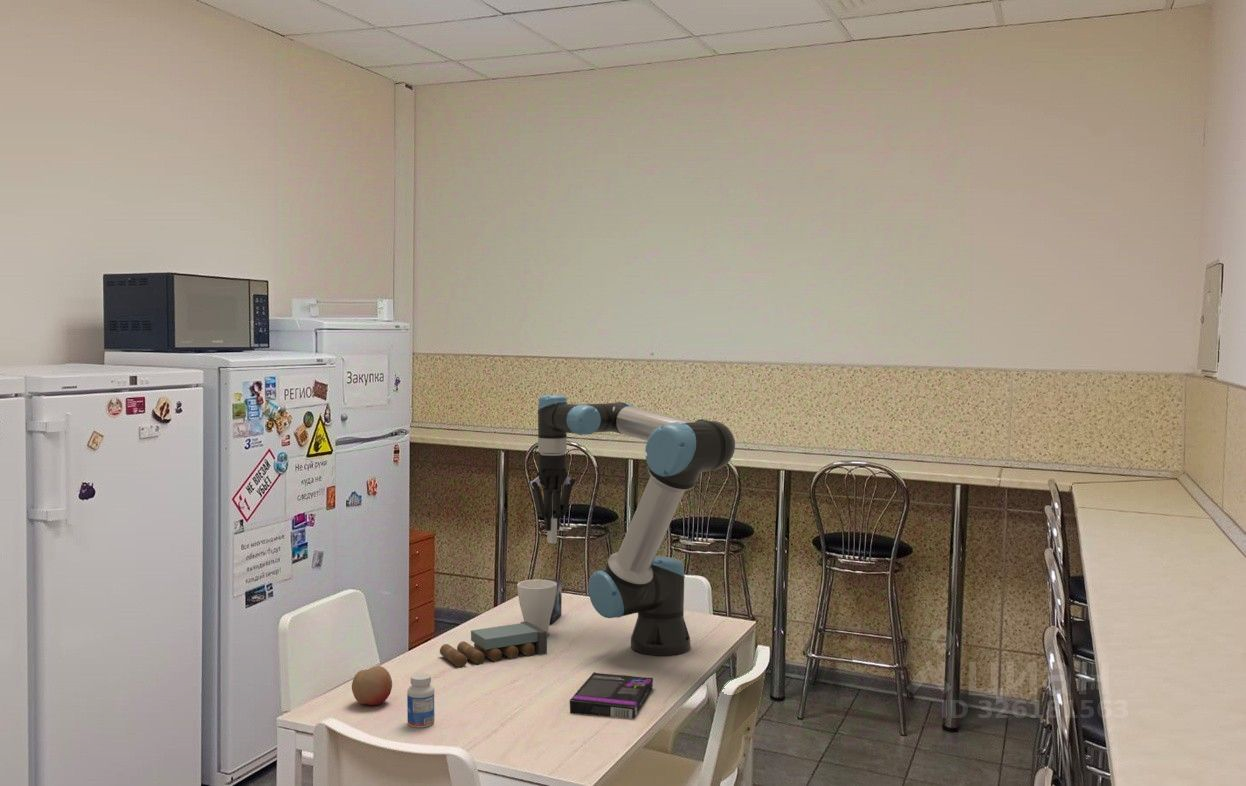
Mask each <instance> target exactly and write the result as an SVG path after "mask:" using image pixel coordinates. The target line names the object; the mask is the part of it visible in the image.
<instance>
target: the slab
mask: <svg viewBox="0 0 1246 786" xmlns="http://www.w3.org/2000/svg"><path fill="white" fill-rule="evenodd" d="M470 641H471V642H473V644H474V643H476V644H477V645H479V646H481V647H482V648H484V649H485V650H487V649H493V648H500V647H506V646H512V645H519V644H525V643H531V642H537V641H538V631H536V630H534V629H532V628H530V627H529V626H527V625H525V624H523V623H513V624H512V623H511V624H505V625H500V626H492V627H486V628H479V629H472V630H470Z"/></svg>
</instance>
